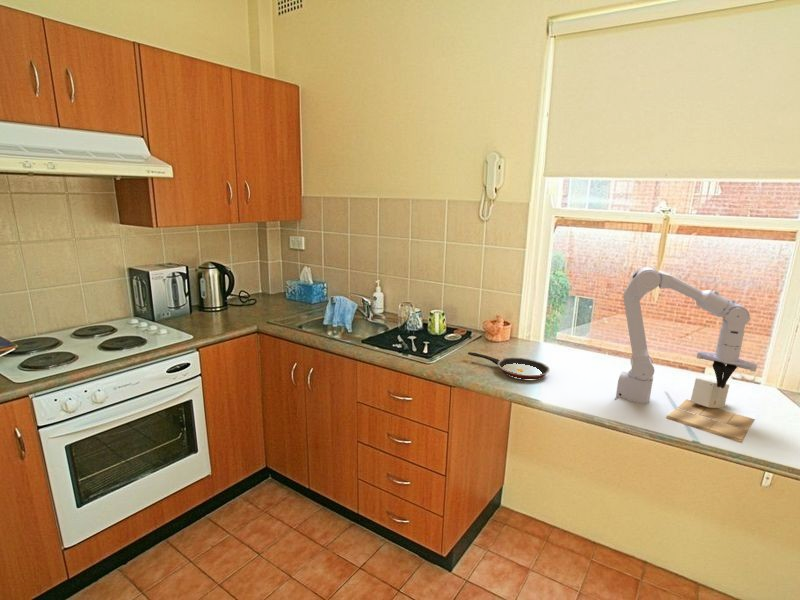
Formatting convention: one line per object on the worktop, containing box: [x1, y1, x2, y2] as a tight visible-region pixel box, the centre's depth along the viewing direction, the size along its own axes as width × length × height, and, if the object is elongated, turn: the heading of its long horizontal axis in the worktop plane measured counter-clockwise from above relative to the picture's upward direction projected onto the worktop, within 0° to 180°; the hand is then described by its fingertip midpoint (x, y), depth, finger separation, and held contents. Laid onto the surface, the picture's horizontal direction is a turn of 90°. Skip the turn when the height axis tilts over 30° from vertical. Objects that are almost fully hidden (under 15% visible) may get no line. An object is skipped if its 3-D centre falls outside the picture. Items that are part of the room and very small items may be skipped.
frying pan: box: [467, 351, 551, 380], centre depth 170 cm, size 19×32×4 cm, turn 56°
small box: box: [690, 377, 730, 409], centre depth 141 cm, size 8×6×10 cm
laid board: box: [677, 398, 756, 431], centre depth 136 cm, size 18×10×1 cm, turn 43°
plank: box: [665, 407, 749, 443], centre depth 129 cm, size 18×10×1 cm, turn 43°
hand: (720, 386), depth 135 cm, fingers closed
